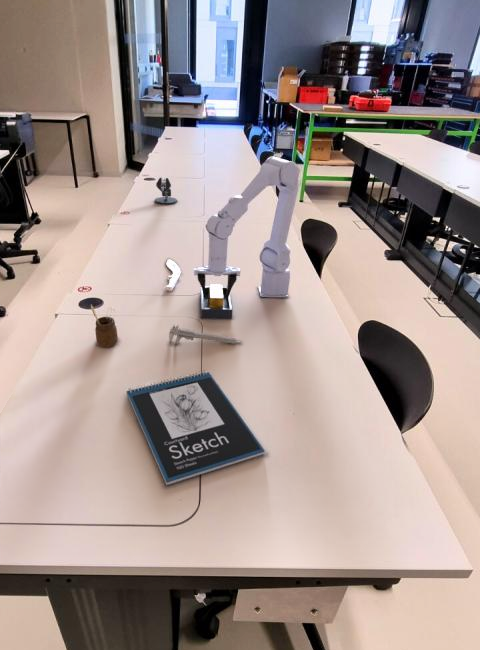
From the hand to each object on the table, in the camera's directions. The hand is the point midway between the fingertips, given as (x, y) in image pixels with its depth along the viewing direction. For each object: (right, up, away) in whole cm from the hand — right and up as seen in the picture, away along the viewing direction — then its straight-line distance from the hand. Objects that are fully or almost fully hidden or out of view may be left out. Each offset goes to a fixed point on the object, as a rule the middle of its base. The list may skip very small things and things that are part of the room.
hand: (216, 295), depth 143 cm
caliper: (-4, -16, -17) cm, 24 cm away
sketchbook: (-7, -35, -44) cm, 57 cm away
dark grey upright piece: (-26, +66, +103) cm, 125 cm away
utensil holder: (-32, -16, -18) cm, 40 cm away
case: (0, -3, +2) cm, 4 cm away
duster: (0, -3, +2) cm, 3 cm away
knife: (-17, +11, +22) cm, 30 cm away
